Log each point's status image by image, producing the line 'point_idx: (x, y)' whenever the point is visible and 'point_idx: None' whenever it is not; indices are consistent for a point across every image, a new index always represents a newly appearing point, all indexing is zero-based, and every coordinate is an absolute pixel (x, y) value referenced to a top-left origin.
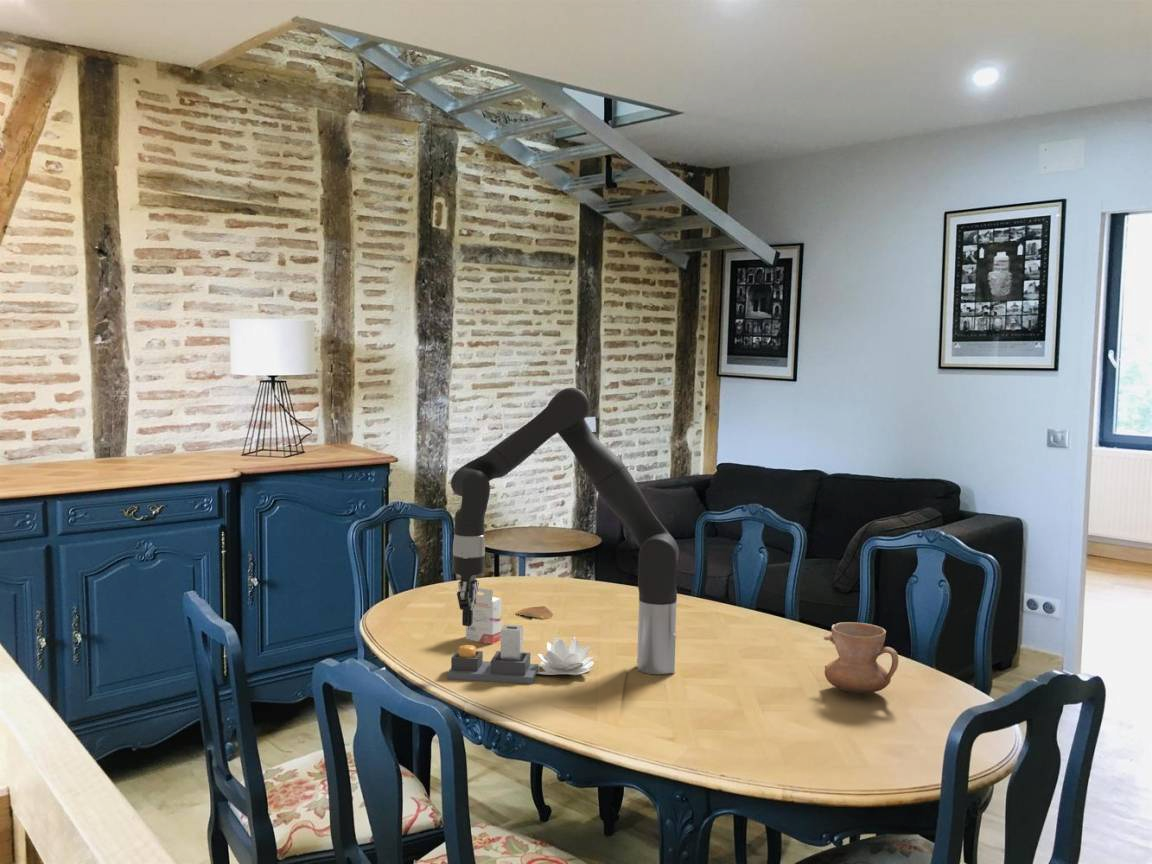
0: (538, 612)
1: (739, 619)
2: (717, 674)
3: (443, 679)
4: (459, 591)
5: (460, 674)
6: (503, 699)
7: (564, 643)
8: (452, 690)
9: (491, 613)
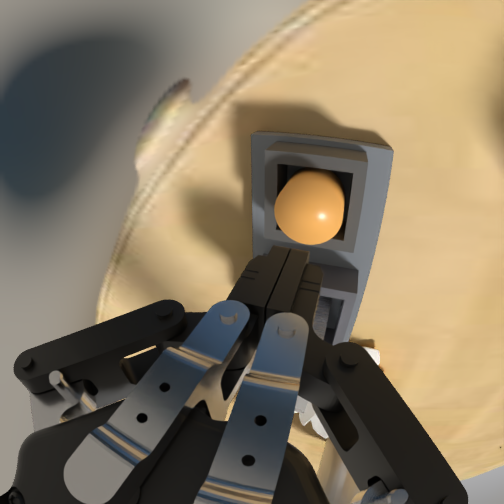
0: None
1: (481, 468)
2: (319, 456)
3: (252, 120)
4: (23, 384)
5: (252, 173)
6: (164, 267)
7: (300, 420)
8: (177, 162)
9: None
